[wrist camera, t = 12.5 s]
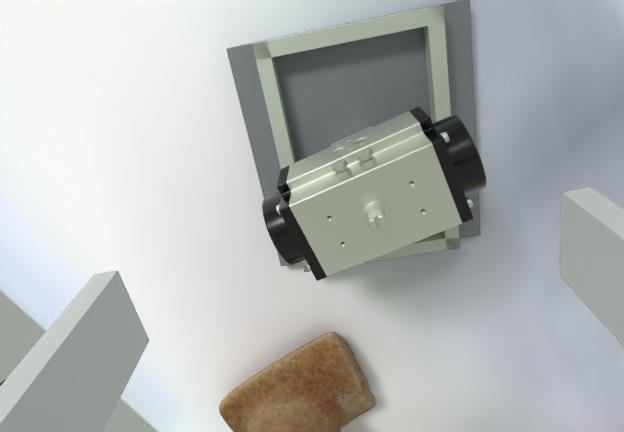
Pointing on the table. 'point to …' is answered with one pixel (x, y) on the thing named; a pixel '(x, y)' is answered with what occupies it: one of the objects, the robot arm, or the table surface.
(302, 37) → the docking tray
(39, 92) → the table surface
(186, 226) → the table surface
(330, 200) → the pneumatic valve
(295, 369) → the stone cup
